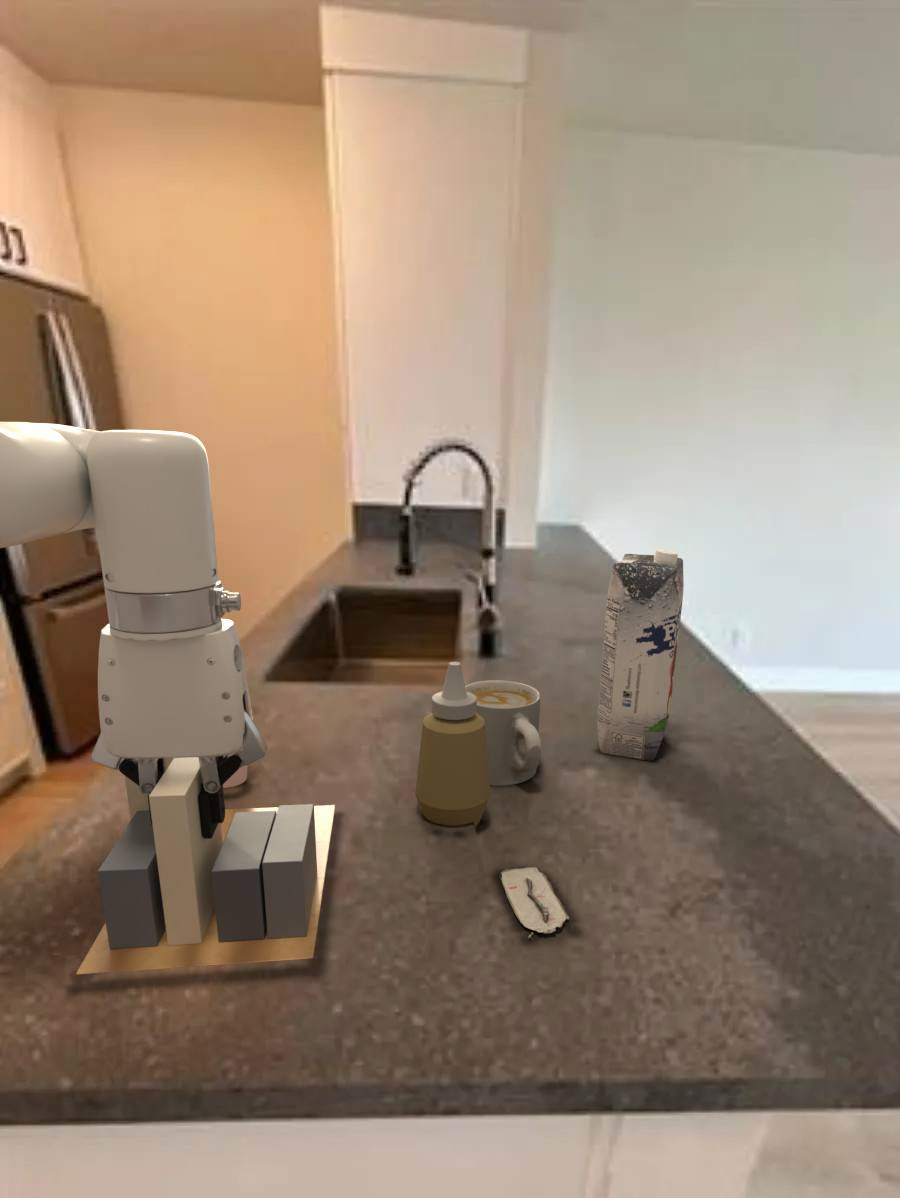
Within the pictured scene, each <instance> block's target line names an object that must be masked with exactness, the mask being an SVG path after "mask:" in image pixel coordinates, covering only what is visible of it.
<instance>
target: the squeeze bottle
mask: <svg viewBox="0 0 900 1198" xmlns="http://www.w3.org/2000/svg"><path fill="white" fill-rule="evenodd" d="M465 686H466V683H465V679H464V674H463V670H462V664H461V662H459V661H450V662H448V666H447V670H446V674H445V678H444V684H443V686H442V687H443V688H442V691H439V692H436V693H435V694H433V695H432V696H431V712H430V713H429V714H427V715H426V716H424V718H422V719H423V720H422V728H421V737H420V747H419V755H418V757H419V758H418V764H417V765H418V766H417V775H416V782H415V783H416V784H415V794H414V795H415V799H416V800H417V804H418V806H419V809H420V812H421V814H423V816H424V819H426V820H428V821H430V822H432V823H434V824H437V825H442V826H463V825H467V824H471V823H473V824H474V828H477V826H478V825H479V823H480V822H481V819H482V817H483V814H484V812H485V809H486V807H487V804H488V802H489V799H490V796H491V785H489V772H488V758H487V745H486V732H485V720H484V719H483V718H482V717H481V716H480V715H479V714H477V713H476V708H477V698H476V696H475V695H473V694H472V693H469V692H466V688H465Z"/></svg>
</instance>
